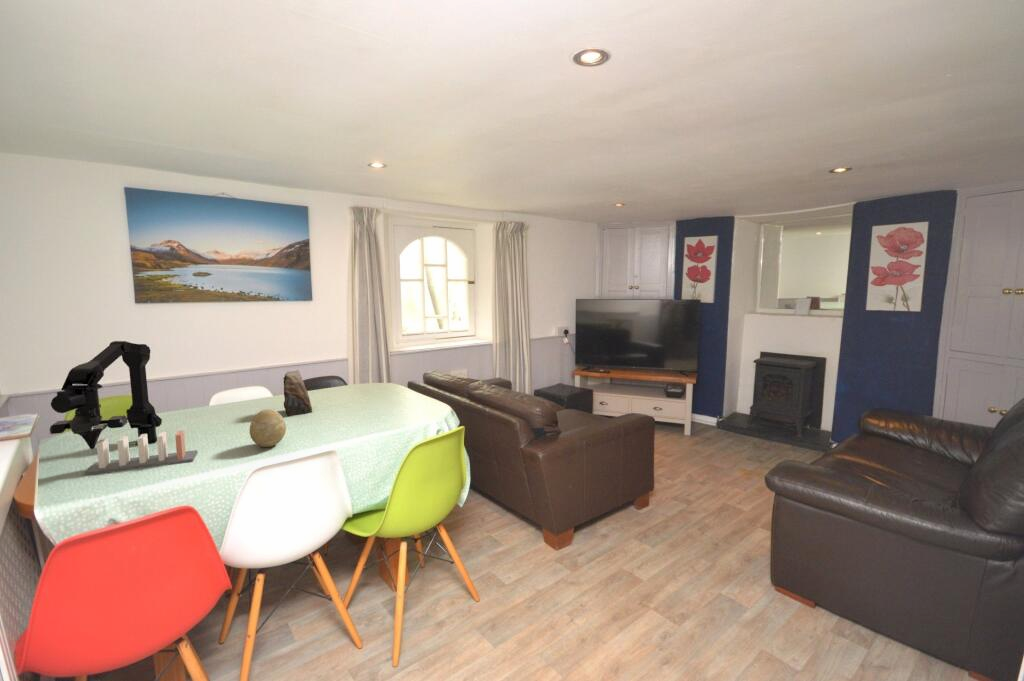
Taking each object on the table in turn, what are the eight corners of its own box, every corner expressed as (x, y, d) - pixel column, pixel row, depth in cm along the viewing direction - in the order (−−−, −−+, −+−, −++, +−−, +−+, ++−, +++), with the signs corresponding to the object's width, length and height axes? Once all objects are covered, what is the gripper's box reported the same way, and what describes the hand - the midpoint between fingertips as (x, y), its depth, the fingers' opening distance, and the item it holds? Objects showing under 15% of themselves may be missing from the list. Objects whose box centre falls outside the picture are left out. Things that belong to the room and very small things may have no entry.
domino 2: (124, 460, 162) (122, 436, 161) (130, 459, 163) (127, 435, 161) (119, 465, 157) (117, 440, 156) (125, 465, 158) (123, 440, 157)
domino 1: (104, 463, 160) (101, 438, 158) (110, 462, 160) (107, 437, 159) (99, 468, 155) (96, 443, 154) (105, 467, 156) (102, 442, 155)
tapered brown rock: (286, 417, 217) (284, 376, 215) (277, 411, 226) (275, 371, 224) (313, 412, 226) (311, 372, 223) (304, 406, 235) (302, 368, 232)
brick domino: (180, 454, 168) (178, 431, 167) (185, 453, 169) (183, 430, 168) (177, 459, 164) (175, 435, 163) (182, 458, 164) (180, 434, 163)
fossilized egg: (292, 440, 187) (291, 405, 185) (276, 452, 175) (274, 414, 173) (262, 439, 188) (260, 404, 186) (243, 451, 175) (241, 413, 173)
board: (95, 465, 160) (94, 462, 160) (197, 452, 173) (197, 450, 173) (84, 475, 152) (84, 472, 152) (192, 461, 165) (192, 458, 165)
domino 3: (143, 458, 164) (141, 434, 163) (149, 457, 165) (147, 433, 164) (139, 463, 160) (137, 438, 159) (145, 462, 160) (143, 438, 159)
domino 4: (162, 456, 167) (160, 432, 165) (167, 455, 167) (165, 431, 166) (158, 461, 162) (156, 436, 161) (164, 460, 163) (162, 436, 162)
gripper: (38, 413, 142) (44, 461, 145) (114, 407, 150) (119, 453, 152) (55, 404, 152) (60, 449, 155) (125, 399, 160) (130, 441, 162)
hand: (92, 448), depth 156 cm, fingers closed
